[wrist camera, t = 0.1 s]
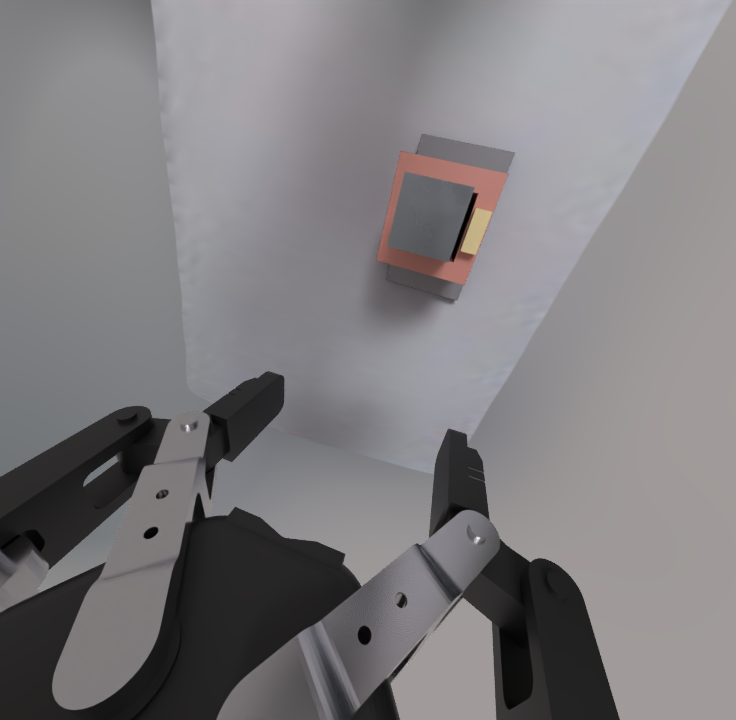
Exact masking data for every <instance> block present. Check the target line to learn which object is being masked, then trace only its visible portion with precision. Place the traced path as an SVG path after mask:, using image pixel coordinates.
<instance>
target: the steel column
mask: <svg viewBox="0 0 736 720" xmlns="http://www.w3.org/2000/svg"><path fill="white" fill-rule="evenodd" d="M474 189H475V187H472V186H467V185H463V184H458V183H454V182H449V181H445V180H440V179H436V178H431V177H427V176H423V175H418V174H414V173H409V172H404V177H403V181H402V185H401V189H400V194H399V198H398V202H397V206H396V211H395V215H394V219H393V223H392V228H391V232H390V236H389V240H388V245H387V246H389V247H393V248H396V249H400V250H404V251H407V252H411V253H415V254H419V255H422V256H426V257H430V258H433V259H437V260H441V261H444V262H448V263H449V260H450V257H451V254H452V251H453V249H454V246H455V243H456V240H457V237H458V234H459V231H460V229H461V226H462V223H463V220H464V217H465V214H466V211H467V209H468V206H469V203H470V200H471V197H472V194H473V191H474Z"/></svg>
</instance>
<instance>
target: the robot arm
mask: <svg viewBox="0 0 736 720" xmlns="http://www.w3.org/2000/svg"><path fill="white" fill-rule="evenodd" d="M283 404H284V377H283V376H282V375H279V374H276V373H273V372H269V371H267V372H265V373H264V374H263V375H261V376H260V377H259V378H253V379H250V380H247V381H245V382H243V383H242V384H240V385H239V386H237V387H236V388H235V389H233V390H232V391H230V392H229V394H226V395H225V396H223V397H222V398H221V399H219V400H218V401H217V402H215V403H214V404H212V405H211V406H210V407H208V408H207V409H205V410H204V411H203V412H198V411H192V412H187V413H183V414H180V415H178V416H176V417H175V418H173V419H172V420H171V419H170V420H169V419H157V418H152V415H151V412H150V410H149V409H148V408H146V407H143V406H132V407H126V408H123V409H120V410H117V411H115V412H113V413H111V414H109V415H108V416H106V417H104V418H102V419H101V420H99V421H97V422H95V423H94V424H92V425H90V426H88V427H87V428H85V429H83V430H81V431H80V432H78V433H76V434H75V435H73V436H71V437H69V438H68V439H66V440H64V441H62V442H60V443H59V444H57V445H55V446H54V447H52V448H50V449H48V450H47V451H45V452H43V453H41V454H40V455H38V456H36V457H34V458H33V459H31V460H29V461H27V462H26V463H24V464H22V465H21V466H19V467H17V468H15V469H14V470H12V471H10V472H8V473H7V474H5V475H3V476H1V477H0V720H400V718H399V714H398V711H397V707H396V703H395V700H394V696H393V692H392V688H391V683H392V682H393V680H394V679H395V678H396V677H397V676H398V675H399V673H400V672H401V671H402V670H403V669H404V668H405V667H406V665H407V664H408V663H409V662H410V660H412V658H413V657H414V656H415V655H416V654H417V652H418V651H419V650H420V648H421V647H422V646H423V645H424V644H425V642H426V641H427V640H428V639H429V637H430V636H431V635H432V634H433V633H434V631H435V630H436V629H437V628H438V627H439V626H440V624H441V623H442V622H443V621H444V620H445V618H446V617H447V616H448V615H449V614H450V613H451V612H452V610H453V609H454V608H455V607H456V606H457V605H458V603H459V602H460V601H461V600H462V599H463V598H465V599H466V600H467V601H468V602H469V603H471V604H472V605H473V606H474V607H475V608H476V609H478V610H479V611H480V612H481V613H482V614H484V615H485V616H486V617H487V618H488V619H489V620H491V621H492V630H493V654H494V676H495V697H496V718H497V720H620V719H619V716H618V712H617V709H616V706H615V702H614V699H613V696H612V692H611V689H610V686H609V682H608V679H607V676H606V672H605V669H604V666H603V663H602V659H601V656H600V652H599V649H598V646H597V642H596V639H595V636H594V633H593V629H592V626H591V622H590V619H589V615H588V612H587V609H586V605H585V602H584V599H583V596H582V594H581V592H580V590H579V588H578V586H577V585H576V583H575V582H574V581H573V579H572V578H571V577H570V576H569V575H568V574H567V573H566V572H565V571H564V570H563V569H562V568H561V567H559V566H558V565H557V564H555V563H553V562H551V561H549V560H546V559H541V558H538V559H535V560H533V561H532V562H529V561H528V560H526V559H525V558H523V557H522V556H521V555H519V554H518V553H516V552H515V551H514V550H512V549H511V548H509V547H508V546H507V545H505V543H504V542H503V541H501V539H500V537H499V534H498V532H497V530H496V528H495V527H494V525H493V524H492V523H491V522H490V520H489V512H488V504H487V495H486V487H485V483H484V482H485V478H484V474H483V472H484V471H483V462H482V459H481V457H480V456H479V454H478V452H477V450H475V449H472V448H469V447H467V435H466V434H465V433H462V432H458V431H455V430H452V429H448V430H447V432H446V435H445V437H444V440H443V442H442V445H441V447H440V450H439V452H438V455H437V459H436V463H435V472H434V483H433V496H432V508H431V519H430V531H429V539H428V540H426V541H425V542H424V543H423V544H421V545H419V544H415V545H413V546H411V547H410V548H409V549H407V550H406V551H405V552H404V553H402V554H401V555H400V556H399V557H398V558H396V559H395V560H394V561H393V562H391V563H390V564H389V565H388V566H387V567H385V568H384V569H383V570H382V571H380V572H379V573H378V574H377V575H376V576H374V577H373V578H372V579H371V580H370V581H368V582H367V583H366V584H365V585H363V586H362V587H361V585H360V583H359V582H358V580H357V579H356V577H355V576H354V575H353V574H352V572H351V571H350V570H349V569H348V568H347V567H345V565H343V562H344V557H345V554H344V553H341V552H339V551H337V550H335V549H332V548H330V547H328V546H325V545H323V544H321V543H318V542H314V541H306V540H297V539H289V538H284V537H282V536H280V535H279V534H278V533H277V532H276V531H275V530H274V529H273V528H271V527H270V526H269V525H268V524H267V523H266V522H265V521H264V520H263V519H261V518H260V517H257V516H255V515H253V514H250V513H248V512H246V511H244V510H241V509H239V508H237V507H235V508H234V509H233V510H232V512H231V513H230V514H229V515H228V516H213V500H214V492H215V484H216V475H217V463H218V462H219V461H220V460H221V459H222V458H223V459H226V460H228V461H231V462H232V461H233V460H234V459H235V458H236V457H237V456H238V455H239V454H240V453H241V452H242V451H243V450H244V449H245V448H246V447H247V446H248V445H249V444H250V443H251V442H252V441H253V440H254V439H255V437H257V435H258V434H259V433H260V432H261V431H262V430H263V429H264V428H265V427H266V426H267V425H268V424H269V423H270V422H271V421H272V420H273V419H274V418H275V417H276V416H277V415H278V414H279V412H280V411H281V409H282V407H283ZM115 455H116V457H117V459H118V462H117V463H115V464H114V465H113V466H111V467H110V468H109V469H107V470H106V471H105V472H103V473H102V474H101V475H99V476H98V477H97V478H95V479H94V480H92V481H91V482H90V483H88V484H87V485H86V486H84V487H83V483H84V481H85V479H86V478H87V476H88V475H89V474H90V473H91V472H93V471H94V470H95V469H97V468H98V467H100V466H101V465H102V464H104V463H105V462H107V461H108V460H109V459H111V458H112V457H114V456H115ZM129 498H131V500H130V502H129V505H128V507H127V510H126V513H125V515H124V518H123V520H122V523H121V526H120V528H119V530H118V533H117V536H116V538H115V541H114V543H113V546H112V549H111V551H110V553H109V556H108V559H107V561H106V562H105V563H103V564H101V565H99V566H97V567H94V568H92V569H90V570H88V571H86V572H84V573H82V574H79V575H77V576H75V577H73V578H71V579H68V580H66V581H64V582H62V583H60V584H58V585H56V586H53V587H51V588H49V589H47V590H45V591H43V592H41V593H39V589H38V587H39V586H40V585H41V583H42V582H43V580H44V579H45V577H46V575H47V573H48V570H49V569H51V568H52V567H53V566H54V565H55V564H56V563H57V562H58V561H59V560H61V559H62V558H63V557H64V556H65V555H66V554H67V553H68V552H70V551H71V550H72V549H73V548H74V547H75V546H76V545H78V544H79V543H80V542H81V541H82V540H83V539H84V538H85V537H87V536H88V535H89V534H90V533H91V532H92V531H93V530H94V529H96V527H98V526H99V525H100V524H101V523H102V522H103V521H105V520H106V519H107V518H108V517H109V516H110V515H111V514H112V513H114V512H115V511H116V510H117V509H118V508H119V507H120V506H121V505H123V504H124V503H125V502H126V501H127V500H128V499H129Z"/></svg>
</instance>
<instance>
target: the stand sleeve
mask: <svg viewBox="0 0 736 720" xmlns="http://www.w3.org/2000/svg"><path fill="white" fill-rule="evenodd" d="M514 154H515V153H514V152H509V151H504V150H499V149H494V148H489V147H484V146H479V145H474V144H469V143H464V142H459V141H454V140H449V139H444V138H439V137H434V136H429V135H424V134H422V135H421V140H420V144H419V148H418V152H417V154H413V153H408V152H403V151H401V152H400V156H399V161H398V165H397V170H396V174H395V179H394V183H393V188H392V192H391V197H390V201H389V206H388V210H387V215H386V219H385V224H384V228H383V233H382V237H381V242H380V246H379V251H378V255H377V261H380V262H384V263H387V264H390V265H389V269H388V273H387V277H386V280H388V281H392V282H395V283H398V284H402V285H405V286H409V287H412V288H416V289H419V290H423V291H426V292H429V293H433V294H436V295H440V296H443V297H447V298H450V299H454V300H458V297H459V295H460V292H461V290H462V287H463V285H465V283H466V280H467V278H468V275H469V273H470V270H471V268H472V265H473V263H474V260H475V258H476V255H477V252H478V250H479V247H480V245H481V242H482V240H483V237H484V235H485V232H486V230H487V227H488V224H489V222H490V219H491V217H492V214H493V212H494V209H495V207H496V204H497V202H498V199H499V197H500V194H501V191H502V189H503V186H504V184H505V181H506V179H507V176H508V174H507V172H508V170H509V167H510V164H511V162H512V159H513V157H514ZM404 172H409V173H414V174H418V175H423V176H427V177H431V178H436V179H440V180H445V181H449V182H454V183H458V184H463V185H467V186H472V187H475V189H474V191H473V194H472V197H471V200H470V203H469V206H468V209H467V211H466V214H465V217H464V220H463V223H462V226H461V229H460V231H459V234H458V237H457V240H456V243H455V246H454V249H453V251H452V254H451V257H450V260H449V263H448V262H444V261H441V260H437V259H433V258H430V257H426V256H422V255H419V254H415V253H411V252H407V251H404V250H400V249H396V248H393V247H389V246H387V245H388V240H389V236H390V232H391V228H392V223H393V219H394V215H395V211H396V206H397V202H398V198H399V194H400V189H401V185H402V181H403V177H404Z"/></svg>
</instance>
